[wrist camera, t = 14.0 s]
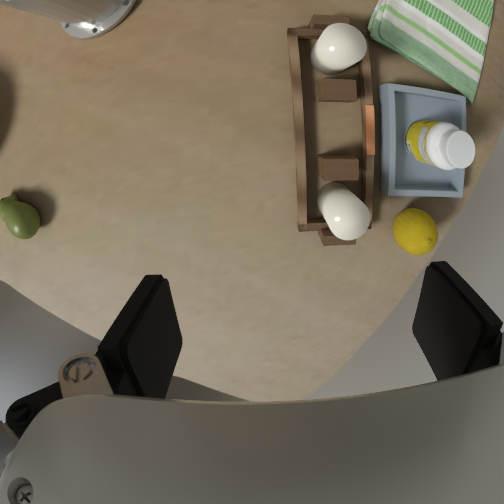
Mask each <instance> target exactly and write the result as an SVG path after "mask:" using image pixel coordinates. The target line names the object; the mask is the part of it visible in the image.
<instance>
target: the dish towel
mask: <svg viewBox="0 0 504 504" xmlns="http://www.w3.org/2000/svg"><path fill="white" fill-rule="evenodd" d="M493 6H494V0H379V1H378V3H377V5H376V7H375V9H374V11H373V13H372V16H371V19H370V21H369V24H368V27H367V29H368V31H369V32H370V37H371V39H372V40H375V41H376V42H378V43H380V44H382V45H384V46H385V47H387V48H389V49H391V50H393V51H395V52H397V53H399V54H400V55H402V54H403V55H402V56H404V57H405V58H407V59H409V60H411V61H412V62H414V63H416V64H417V65H419V66H421V67H422V68H424V69H426V70H427V71H429V72H430V73H432V74H434V75H435V76H437V77H439V78H440V79H442V80H443V81H445V82H446V83H448V84H449V85H451V86H452V87H454V88H455V89H456V90H458V91H459V92H460V93H461V94H463V95H464V96H465V97H466V98H467V99H466V102H468V103H469V104H471V105H472V104H473V101H474V98H475V93H476V90H477V87H478V83H479V79H480V75H481V71H482V66H483V62H484V57H485V51H486V44H487V41H488V35H489V30H490V27H491V21H492V14H493ZM452 90H453V89H452ZM453 91H454V90H453ZM454 92H455V91H454Z"/></svg>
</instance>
